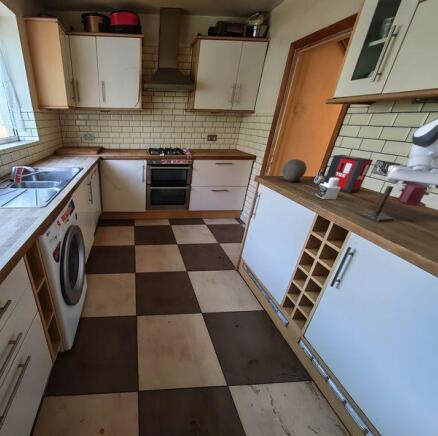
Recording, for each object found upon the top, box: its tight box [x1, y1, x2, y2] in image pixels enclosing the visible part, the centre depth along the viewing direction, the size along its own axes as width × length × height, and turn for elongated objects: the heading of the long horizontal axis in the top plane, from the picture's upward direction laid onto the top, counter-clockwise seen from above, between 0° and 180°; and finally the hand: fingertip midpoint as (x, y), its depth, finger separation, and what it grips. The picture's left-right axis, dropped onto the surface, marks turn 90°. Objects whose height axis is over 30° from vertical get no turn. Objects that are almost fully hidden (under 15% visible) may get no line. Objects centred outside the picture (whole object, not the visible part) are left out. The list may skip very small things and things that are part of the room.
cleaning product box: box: [322, 154, 373, 194], centre depth 144 cm, size 16×9×20 cm, turn 22°
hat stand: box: [357, 185, 395, 223], centre depth 104 cm, size 9×9×15 cm
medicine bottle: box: [315, 176, 340, 200], centre depth 129 cm, size 7×7×12 cm
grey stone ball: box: [281, 158, 308, 183], centre depth 158 cm, size 14×14×15 cm
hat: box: [391, 184, 428, 208], centre depth 103 cm, size 10×10×8 cm
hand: (413, 192), depth 102 cm, fingers closed on hat, 6 cm apart
